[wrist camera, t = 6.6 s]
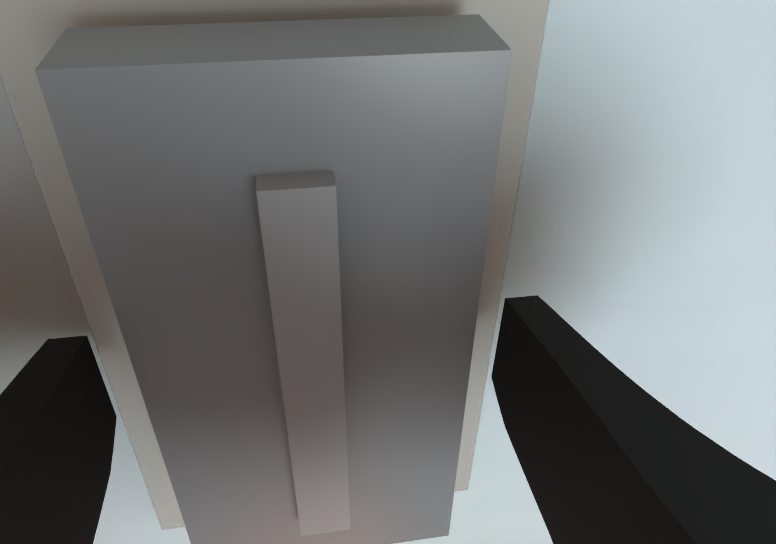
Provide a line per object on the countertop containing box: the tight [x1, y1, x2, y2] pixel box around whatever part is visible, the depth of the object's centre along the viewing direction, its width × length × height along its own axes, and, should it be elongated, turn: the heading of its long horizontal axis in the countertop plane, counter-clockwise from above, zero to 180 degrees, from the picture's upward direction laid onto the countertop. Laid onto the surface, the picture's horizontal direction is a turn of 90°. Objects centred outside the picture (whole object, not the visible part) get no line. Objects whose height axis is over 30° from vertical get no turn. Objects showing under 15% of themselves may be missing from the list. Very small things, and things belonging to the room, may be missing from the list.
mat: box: [0, 0, 549, 530], centre depth 13 cm, size 14×8×1 cm, turn 179°
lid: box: [35, 14, 512, 544], centre depth 11 cm, size 11×6×2 cm, turn 179°
